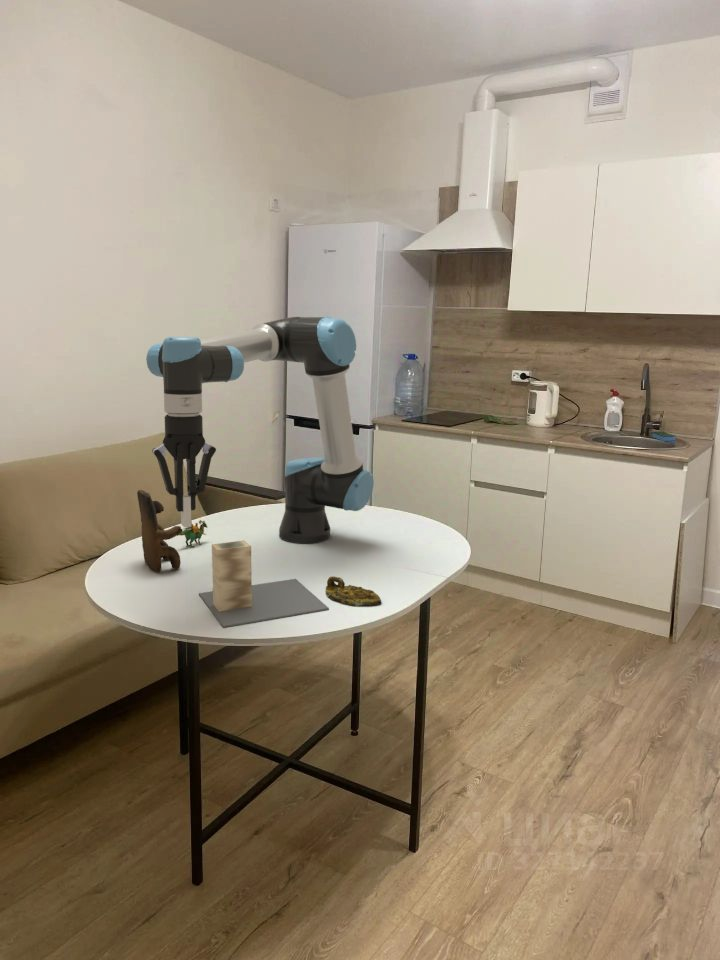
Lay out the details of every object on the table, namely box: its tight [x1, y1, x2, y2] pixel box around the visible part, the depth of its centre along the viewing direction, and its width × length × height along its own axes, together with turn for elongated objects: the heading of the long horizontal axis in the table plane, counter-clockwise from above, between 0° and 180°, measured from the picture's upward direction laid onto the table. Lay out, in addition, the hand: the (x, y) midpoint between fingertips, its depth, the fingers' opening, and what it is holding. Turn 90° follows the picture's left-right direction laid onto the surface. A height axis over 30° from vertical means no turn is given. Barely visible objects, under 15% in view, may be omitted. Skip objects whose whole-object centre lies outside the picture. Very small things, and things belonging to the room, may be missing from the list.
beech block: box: [211, 539, 253, 612], centre depth 160 cm, size 8×4×14 cm, turn 117°
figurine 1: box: [136, 489, 184, 573], centre depth 184 cm, size 13×8×20 cm, turn 37°
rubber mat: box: [198, 578, 330, 629], centre depth 165 cm, size 24×20×1 cm
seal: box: [324, 576, 382, 608], centre depth 169 cm, size 9×5×15 cm
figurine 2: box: [176, 519, 208, 548], centre depth 202 cm, size 3×12×8 cm, turn 143°
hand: (186, 525), depth 153 cm, fingers closed
